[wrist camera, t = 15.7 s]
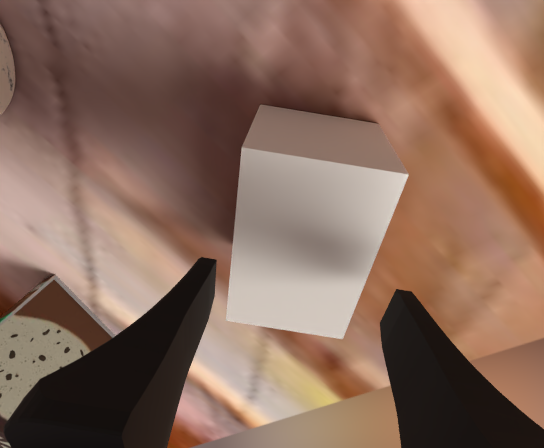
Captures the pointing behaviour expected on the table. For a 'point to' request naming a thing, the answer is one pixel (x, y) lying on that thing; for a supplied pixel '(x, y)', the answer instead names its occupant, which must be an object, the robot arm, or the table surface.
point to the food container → (43, 341)
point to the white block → (309, 219)
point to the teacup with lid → (6, 72)
